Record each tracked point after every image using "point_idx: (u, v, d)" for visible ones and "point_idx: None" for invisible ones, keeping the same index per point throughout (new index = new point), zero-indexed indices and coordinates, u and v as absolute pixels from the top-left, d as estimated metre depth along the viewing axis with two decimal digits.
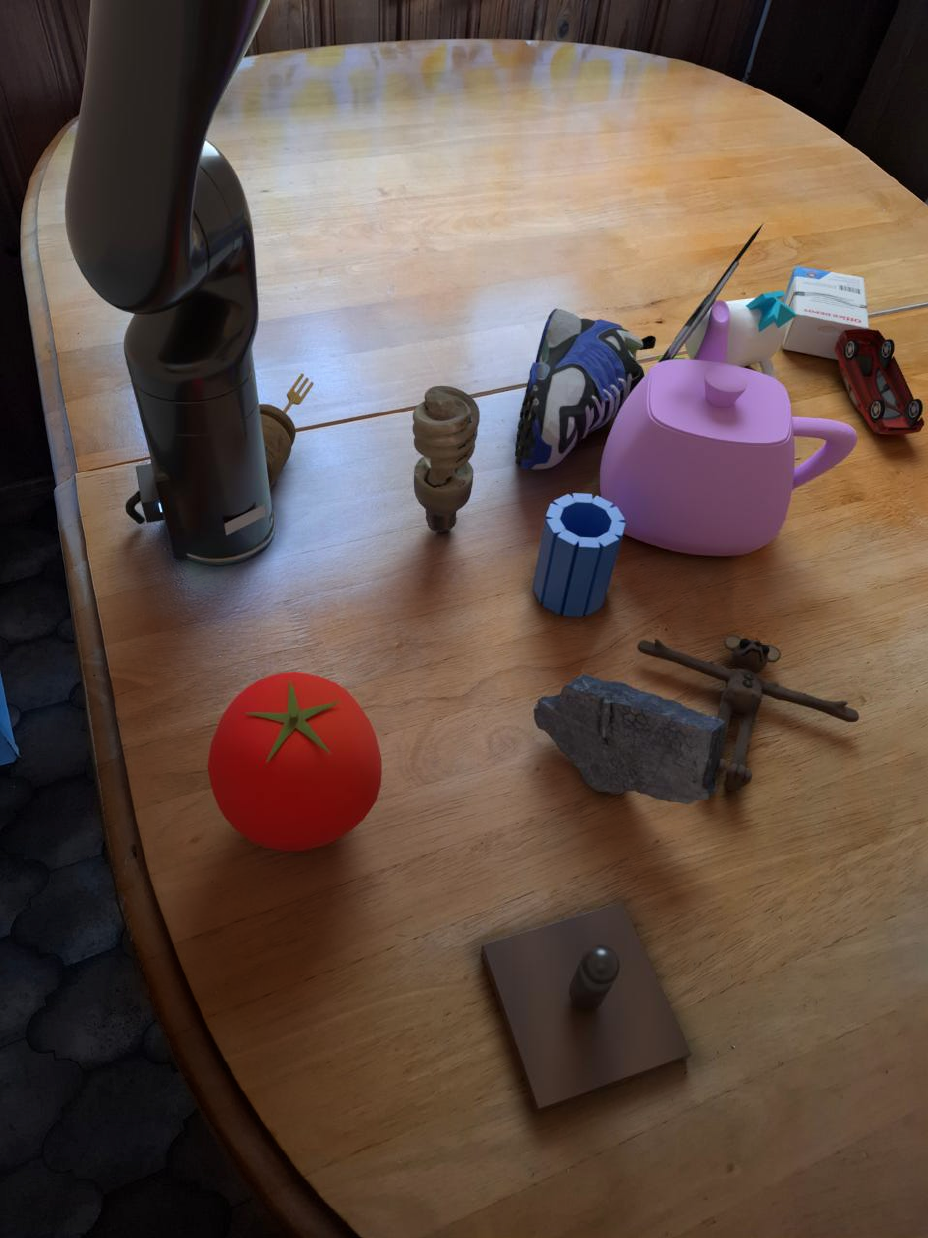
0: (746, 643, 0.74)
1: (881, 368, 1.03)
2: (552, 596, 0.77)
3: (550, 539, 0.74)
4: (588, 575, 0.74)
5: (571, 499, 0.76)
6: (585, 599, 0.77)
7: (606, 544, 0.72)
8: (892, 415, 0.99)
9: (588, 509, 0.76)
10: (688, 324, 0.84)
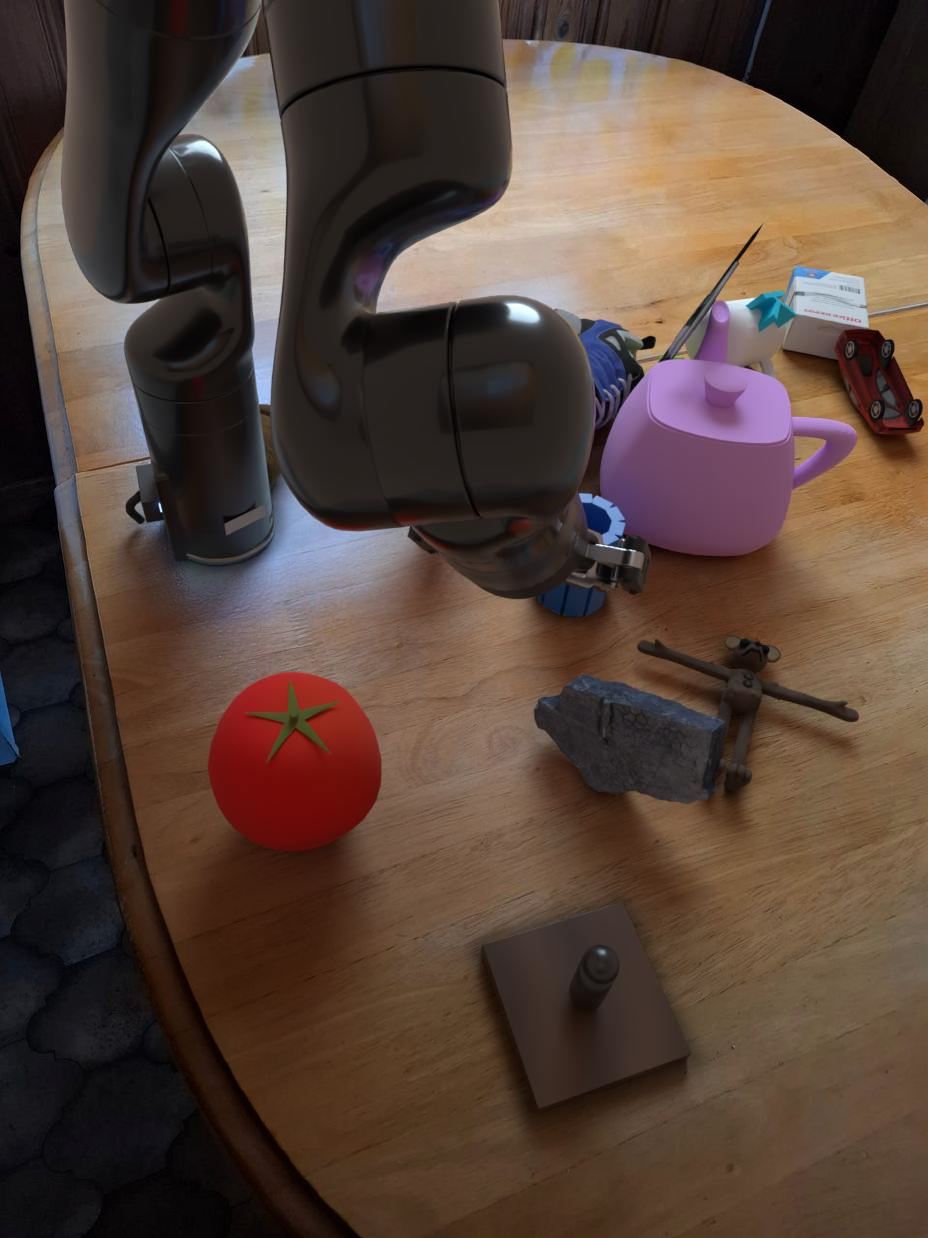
0: (746, 643, 0.74)
1: (881, 368, 1.03)
2: (552, 596, 0.77)
3: None
4: None
5: None
6: (585, 599, 0.77)
7: (606, 544, 0.72)
8: (892, 415, 0.99)
9: (588, 509, 0.76)
10: (688, 324, 0.84)
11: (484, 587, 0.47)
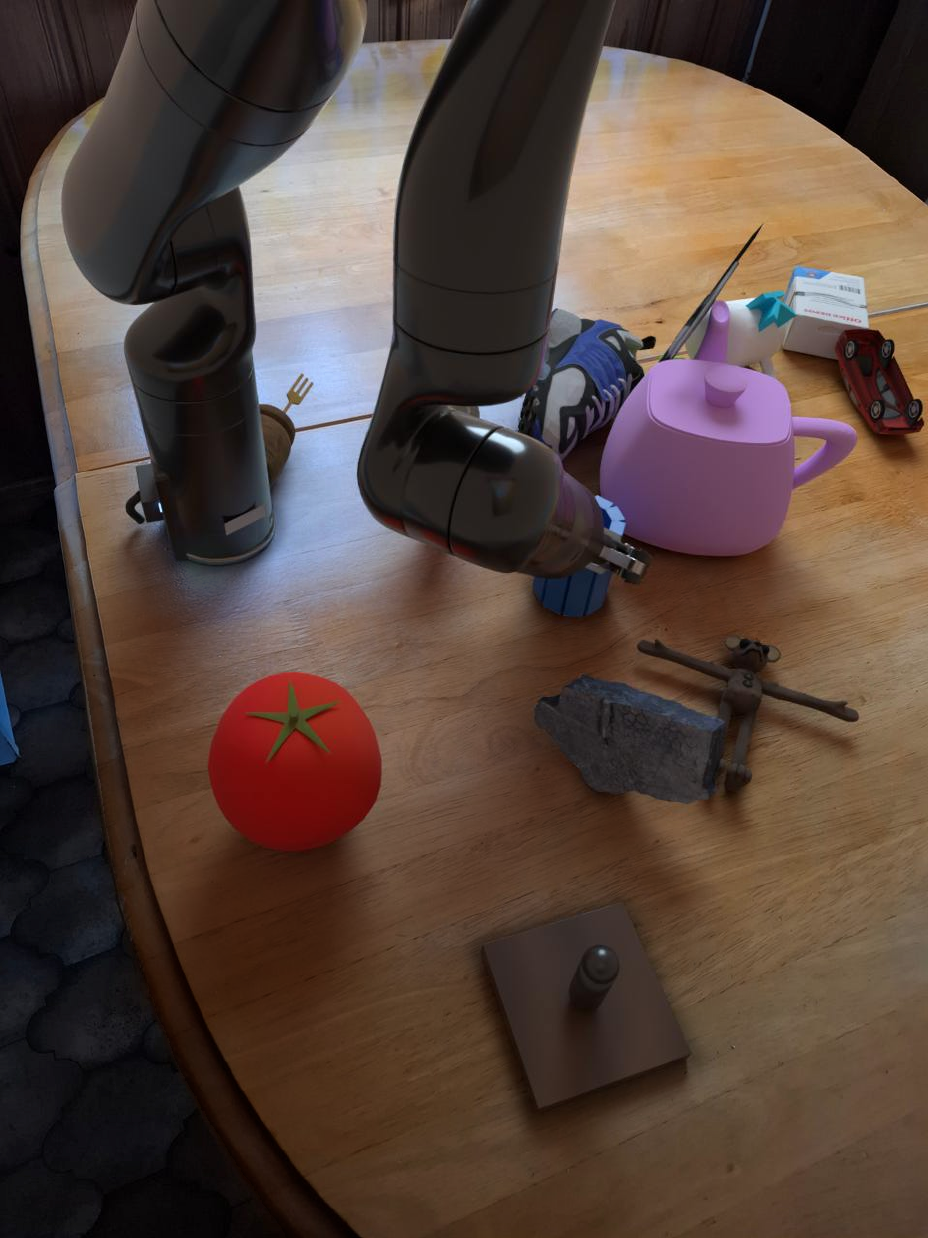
0: (746, 643, 0.74)
1: (881, 368, 1.03)
2: (552, 596, 0.77)
3: None
4: (588, 575, 0.74)
5: None
6: (585, 599, 0.77)
7: None
8: (892, 415, 0.99)
9: None
10: (688, 324, 0.84)
11: None
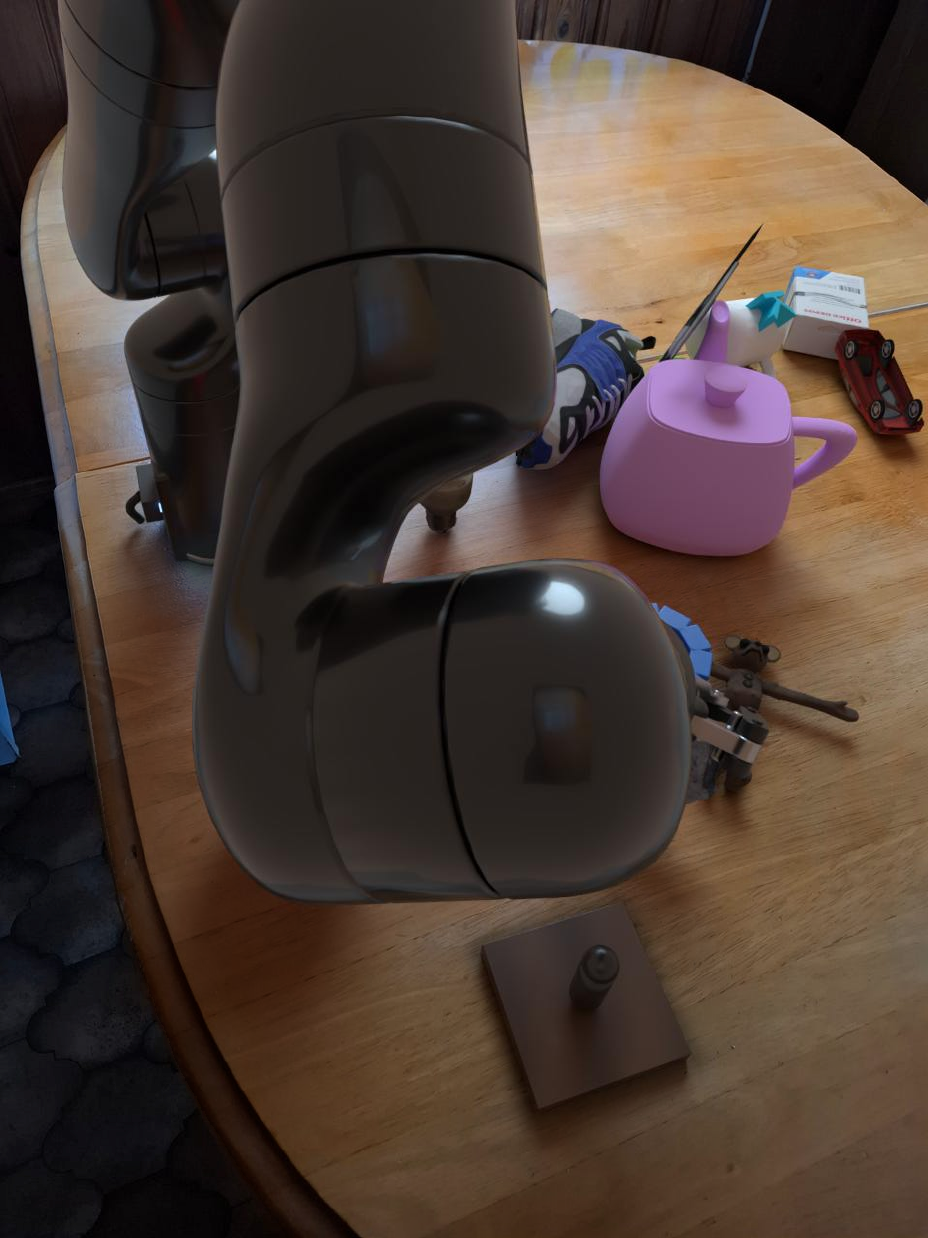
0: (746, 643, 0.74)
1: (881, 369, 1.03)
2: None
3: None
4: None
5: None
6: None
7: None
8: (892, 415, 0.99)
9: None
10: (688, 324, 0.84)
11: None
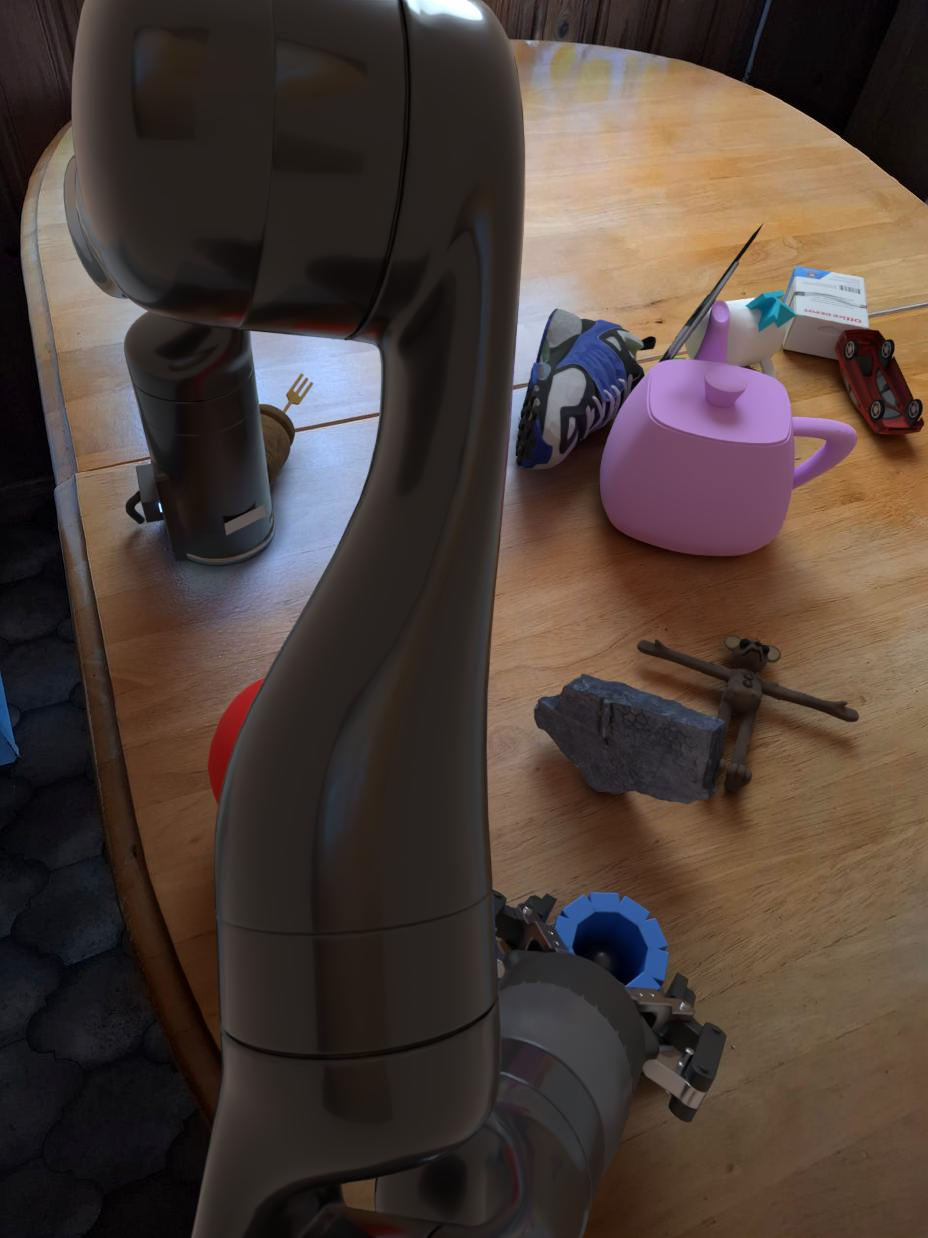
0: (746, 643, 0.74)
1: (881, 369, 1.03)
2: None
3: None
4: None
5: (588, 905, 0.52)
6: None
7: None
8: (892, 415, 0.99)
9: (613, 916, 0.52)
10: (688, 324, 0.84)
11: None
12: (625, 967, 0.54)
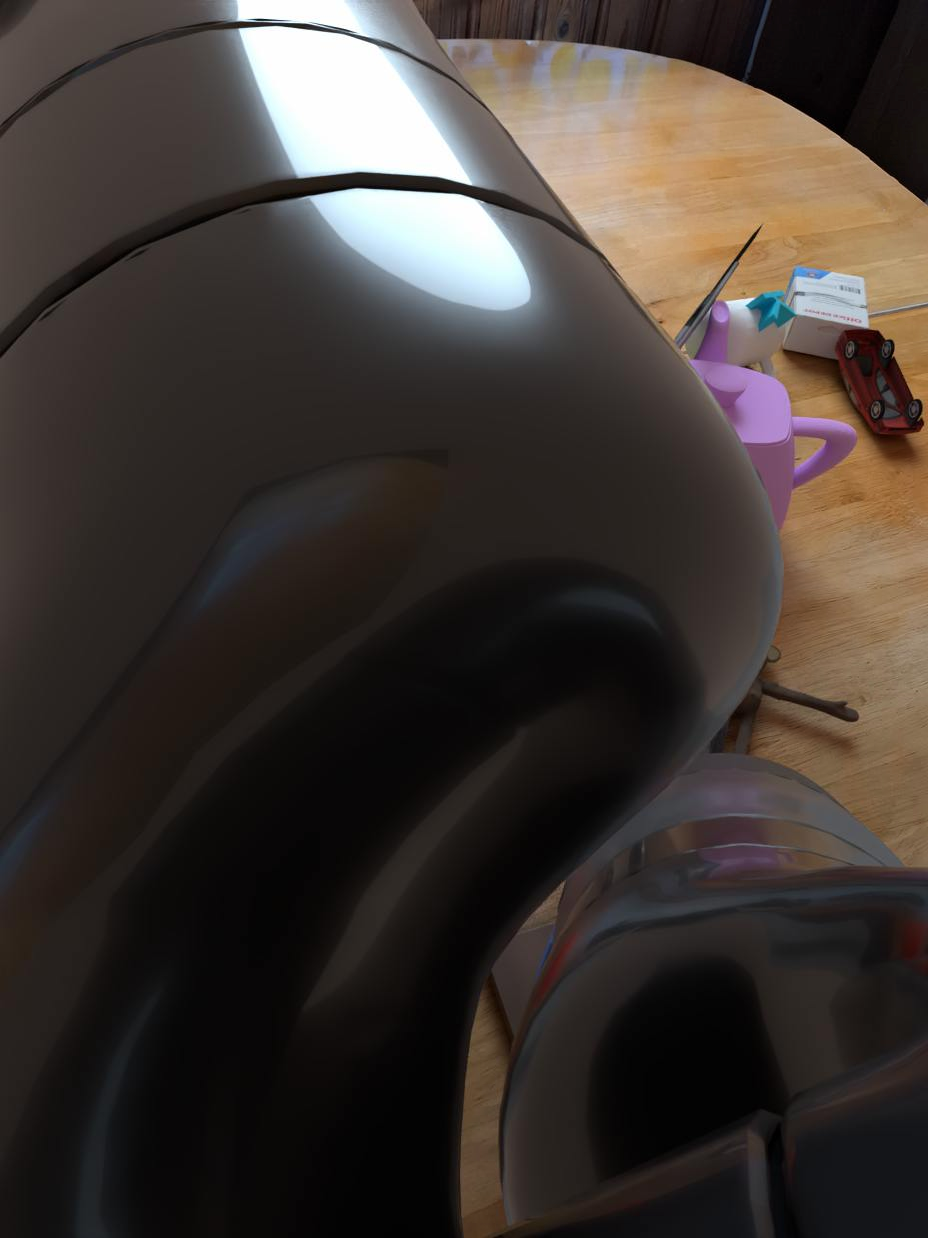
0: None
1: (881, 369, 1.03)
2: None
3: None
4: None
5: None
6: None
7: None
8: (892, 415, 0.99)
9: None
10: (688, 324, 0.84)
11: None
12: None
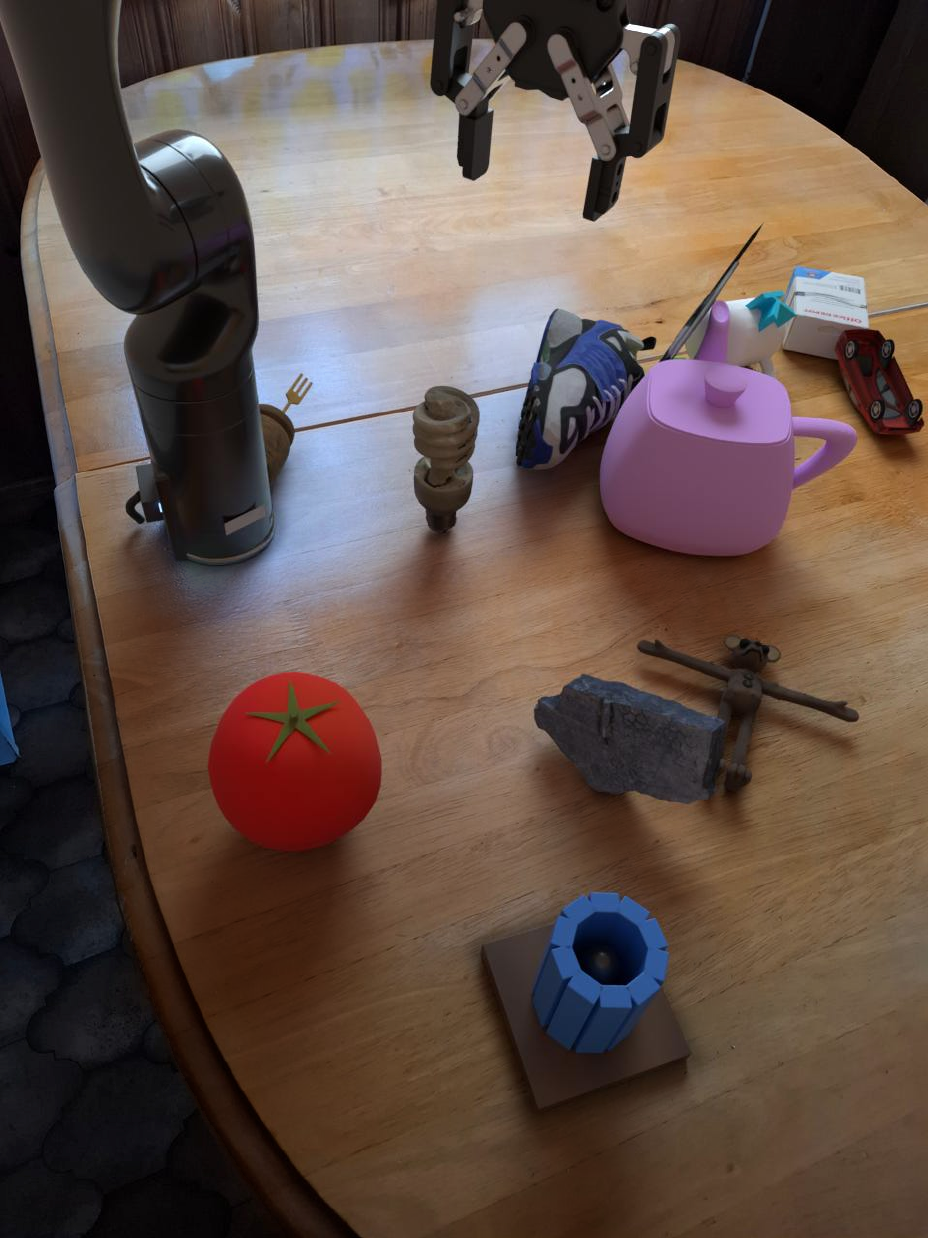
0: (745, 643, 0.74)
1: (881, 369, 1.03)
2: (560, 1032, 0.53)
3: (557, 980, 0.50)
4: (613, 1026, 0.51)
5: (588, 905, 0.52)
6: (608, 1042, 0.53)
7: (641, 1000, 0.48)
8: (892, 415, 0.99)
9: (613, 916, 0.52)
10: (688, 324, 0.84)
11: None
12: (625, 967, 0.54)
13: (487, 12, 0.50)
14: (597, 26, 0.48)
